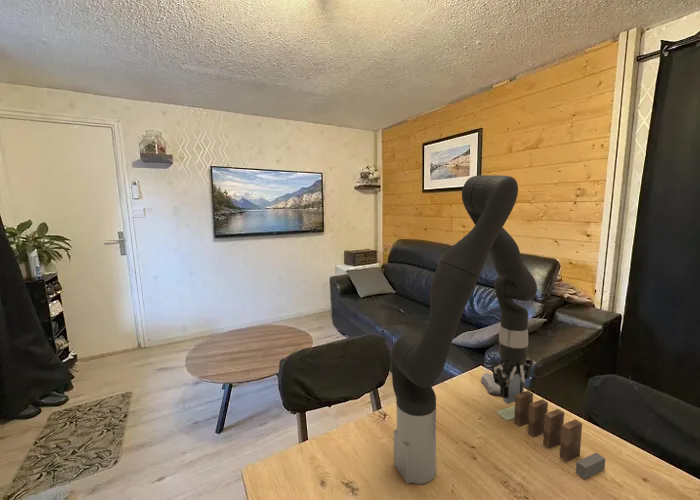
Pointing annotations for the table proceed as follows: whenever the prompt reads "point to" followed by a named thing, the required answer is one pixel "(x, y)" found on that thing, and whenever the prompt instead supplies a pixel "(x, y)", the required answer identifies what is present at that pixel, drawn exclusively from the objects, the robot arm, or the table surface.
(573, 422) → the domino
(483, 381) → the stone block
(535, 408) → the domino
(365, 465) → the table surface
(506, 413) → the pad
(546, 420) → the domino
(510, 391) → the domino
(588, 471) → the block
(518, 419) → the domino
